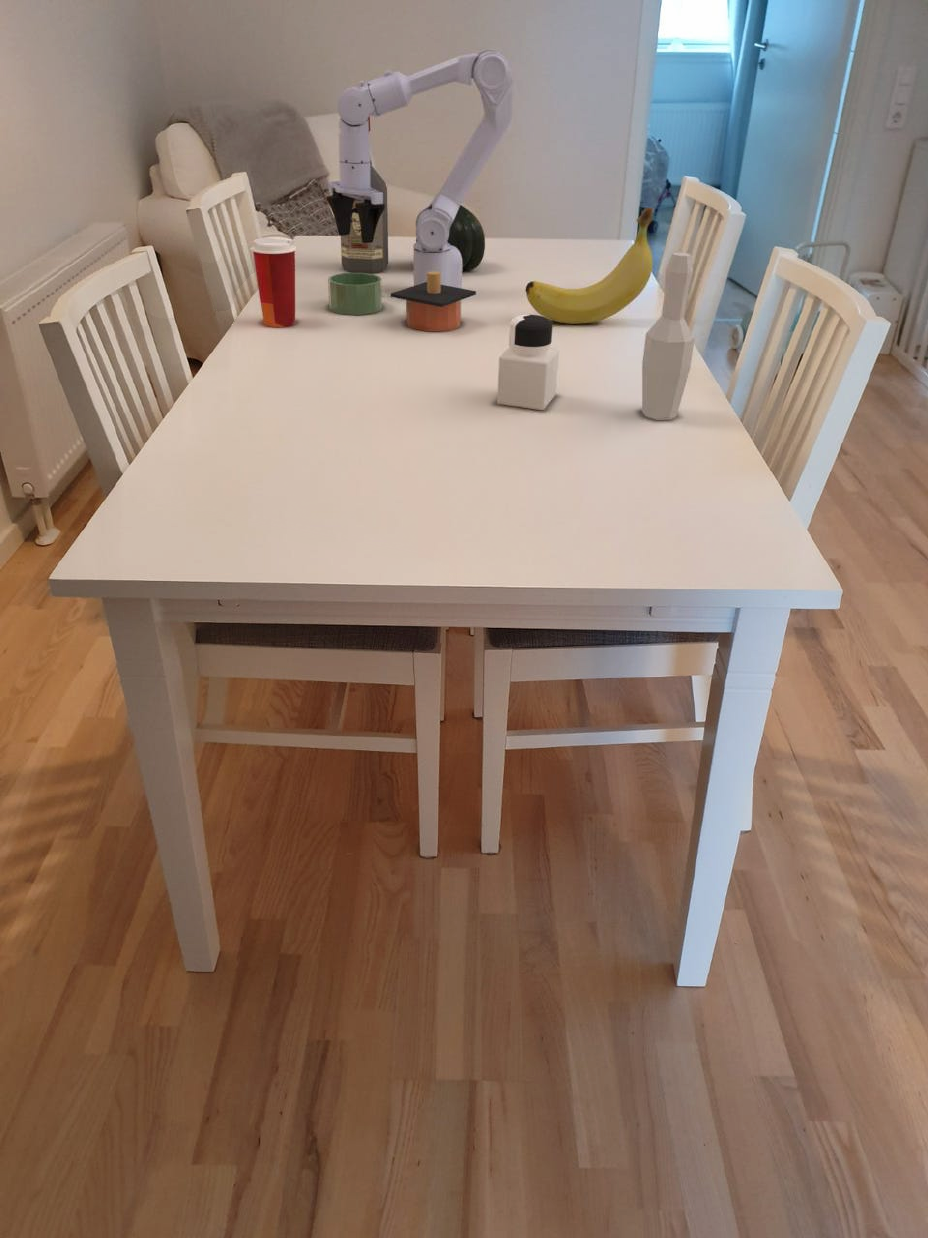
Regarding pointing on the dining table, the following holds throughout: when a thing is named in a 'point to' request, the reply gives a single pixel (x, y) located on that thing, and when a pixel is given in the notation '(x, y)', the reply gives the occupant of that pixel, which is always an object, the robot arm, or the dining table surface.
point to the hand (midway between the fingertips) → (355, 238)
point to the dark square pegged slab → (433, 292)
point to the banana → (598, 287)
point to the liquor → (352, 247)
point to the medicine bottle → (528, 364)
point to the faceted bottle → (668, 345)
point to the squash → (467, 238)
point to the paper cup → (276, 279)
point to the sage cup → (355, 293)
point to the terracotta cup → (433, 316)
